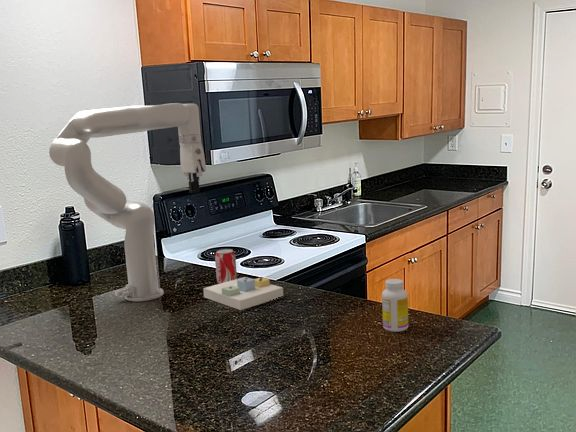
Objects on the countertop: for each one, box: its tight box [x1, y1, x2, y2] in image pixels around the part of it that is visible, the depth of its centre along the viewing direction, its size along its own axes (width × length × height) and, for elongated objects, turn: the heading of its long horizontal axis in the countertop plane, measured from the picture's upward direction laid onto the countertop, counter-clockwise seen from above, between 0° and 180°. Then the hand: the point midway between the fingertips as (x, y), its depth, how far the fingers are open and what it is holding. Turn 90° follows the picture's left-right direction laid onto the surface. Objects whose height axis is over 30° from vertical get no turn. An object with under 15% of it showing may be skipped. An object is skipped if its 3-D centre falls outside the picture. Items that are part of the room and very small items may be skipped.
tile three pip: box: [253, 276, 271, 288], centre depth 191 cm, size 4×4×4 cm
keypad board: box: [203, 276, 284, 311], centre depth 189 cm, size 17×20×3 cm
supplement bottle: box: [381, 278, 409, 333], centre depth 154 cm, size 7×7×13 cm
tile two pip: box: [237, 277, 255, 292], centre depth 187 cm, size 4×4×4 cm
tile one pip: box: [222, 286, 240, 297], centre depth 184 cm, size 4×4×4 cm
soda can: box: [214, 248, 238, 284], centre depth 204 cm, size 7×7×12 cm
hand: (194, 192), depth 206 cm, fingers closed
